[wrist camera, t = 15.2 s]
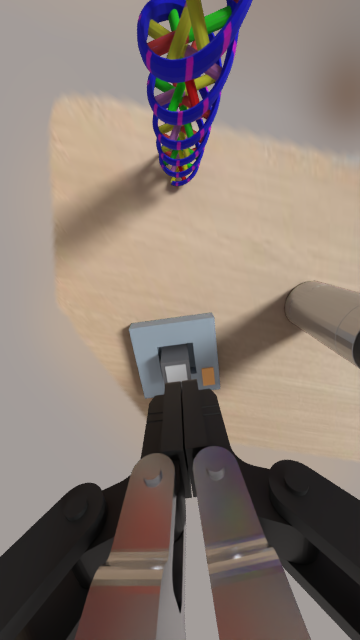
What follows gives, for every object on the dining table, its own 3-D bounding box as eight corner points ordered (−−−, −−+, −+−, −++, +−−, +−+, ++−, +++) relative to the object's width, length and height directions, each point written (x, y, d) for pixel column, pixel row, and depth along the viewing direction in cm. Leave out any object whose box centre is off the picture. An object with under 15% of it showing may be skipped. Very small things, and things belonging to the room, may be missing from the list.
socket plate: (211, 312, 43) (214, 317, 39) (217, 380, 48) (220, 389, 45) (131, 323, 43) (128, 329, 40) (146, 389, 48) (144, 399, 45)
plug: (186, 342, 44) (188, 360, 37) (189, 363, 46) (192, 384, 39) (162, 345, 44) (160, 364, 37) (166, 366, 46) (164, 387, 39)
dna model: (187, 194, 36) (238, 11, 7) (154, 176, 35) (66, -120, 6) (204, 156, 34) (356, -280, 6) (170, 135, 33) (145, -523, 5)
